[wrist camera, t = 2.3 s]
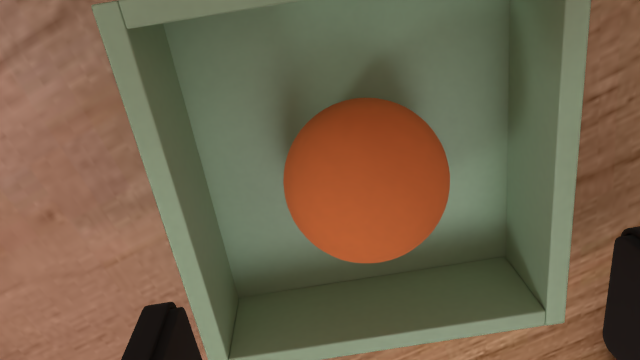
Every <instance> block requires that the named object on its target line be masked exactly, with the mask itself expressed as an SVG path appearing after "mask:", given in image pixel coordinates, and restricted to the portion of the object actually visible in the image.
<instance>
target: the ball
mask: <svg viewBox="0 0 640 360" xmlns="http://www.w3.org/2000/svg"><path fill="white" fill-rule="evenodd" d="M283 184H284V193H285V199H286V203H287V206H288V209H289V211H290V213H291V216H292V218H293V220H294V222H295V223H296V225H297V227H298V228H299V230H300V231H301V232H302V233H303V234H304V235H305V237H306V238H307V239H308V240H309V241H310V242H311V243H312V244H314V245H315V246H316V247H318V248H319V249H321V250H322V251H324V252H325V253H327V254H329V255H331V256H333V257H336V258H338V259H341V260H344V261H349V262H354V263H380V262H385V261H389V260H392V259H395V258H398V257H400V256H402V255H405V254H406V253H408V252H410V251H411V250H413V249H414V248H416V247H417V246H418V245H420V244H421V243H422V242H423V241H424V240H425V239H426V238H427V237H428V236H429V235H430V234H431V233H432V232H433V230H434V229H435V227H436V226H437V224H438V223H439V221H440V219H441V217H442V215H443V213H444V210H445V208H446V204H447V201H448V196H449V190H450V171H449V165H448V161H447V157H446V153H445V151H444V148H443V146H442V144H441V142H440V140H439V139H438V137H437V136H436V134H435V132H434V131H433V130H432V128H431V127H430V126H429V125H428V124H427V123H426V122H425V121H424V120H423V119H422V118H421V117H419V116H418V115H417V114H416V113H414V112H413V111H411V110H410V109H408V108H406V107H404V106H402V105H400V104H398V103H394V102H391V101H388V100H384V99H378V98H354V99H349V100H345V101H342V102H339V103H336V104H333V105H331V106H329V107H327V108H326V109H324V110H322V111H321V112H319V113H318V114H316V115H315V116H314V117H313V118H312V119H310V120H309V121H308V122H307V123H306V124H305V126H304V127H303V128H302V129H301V130H300V132H299V133H298V135H297V136H296V138H295V139H294V141H293V143H292V145H291V147H290V149H289V152H288V155H287V159H286V162H285V168H284V180H283Z"/></svg>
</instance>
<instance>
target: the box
mask: <svg viewBox="0 0 640 360" xmlns="http://www.w3.org/2000/svg"><path fill="white" fill-rule="evenodd" d="M91 7H92V10H93V13H94V16H95V19H96V22H97V25H98V28H99V32H100V35H101V38H102V41H103V44H104V47H105V50H106V53H107V56H108V59H109V62H110V65H111V68H112V71H113V74H114V77H115V80H116V83H117V86H118V89H119V92H120V95H121V98H122V101H123V104H124V107H125V110H126V113H127V116H128V119H129V122H130V125H131V128H132V131H133V134H134V137H135V140H136V143H137V146H138V149H139V152H140V155H141V158H142V161H143V164H144V167H145V170H146V173H147V176H148V179H149V182H150V185H151V188H152V191H153V194H154V197H155V200H156V203H157V206H158V209H159V212H160V215H161V219H162V222H163V225H164V228H165V231H166V234H167V237H168V240H169V243H170V246H171V249H172V252H173V255H174V258H175V261H176V264H177V267H178V270H179V273H180V276H181V279H182V282H183V285H184V288H185V291H186V294H187V297H188V300H189V303H190V306H191V309H192V312H193V315H194V318H195V321H196V324H197V327H198V330H199V333H200V336H201V339H202V342H203V345H204V348H205V351H206V354H207V357H208V360H321V359H328V358H334V357H341V356H347V355H354V354H361V353H367V352H374V351H380V350H387V349H393V348H400V347H407V346H413V345H420V344H426V343H433V342H439V341H446V340H453V339H459V338H466V337H472V336H479V335H485V334H492V333H499V332H505V331H512V330H518V329H525V328H531V327H538V326H544V325H553V324H560V323H564V321H565V309H566V297H567V285H568V273H569V261H570V249H571V237H572V225H573V212H574V200H575V188H576V176H577V164H578V152H579V140H580V128H581V116H582V104H583V92H584V80H585V68H586V56H587V44H588V32H589V20H590V8H591V0H118V1H112V2H106V3H100V4H94V5H92V6H91ZM354 98H378V99H384V100H388V101H391V102H394V103H398V104H400V105H402V106H404V107H406V108H408V109H410V110H411V111H413V112H414V113H416V114H417V115H418V116H419V117H421V118H422V119H423V120H424V121H425V122H426V123H427V124H428V125H429V126H430V127H431V128H432V130H433V131H434V132H435V134H436V136H437V137H438V139H439V140H440V142H441V144H442V146H443V148H444V151H445V153H446V157H447V161H448V165H449V171H450V190H449V196H448V201H447V204H446V208H445V210H444V213H443V215H442V217H441V219H440V221H439V223H438V224H437V226H436V227H435V229H434V230H433V232H432V233H431V234H430V235H429V236H428V237H427V238H426V239H425V240H424V241H423V242H422V243H421V244H420V245H418V246H417V247H416V248H414V249H413V250H411V251H410V252H408V253H406V254H405V255H402V256H400V257H398V258H395V259H392V260H389V261H385V262H380V263H354V262H349V261H344V260H341V259H338V258H336V257H333V256H331V255H329V254H327V253H325V252H324V251H322V250H321V249H319V248H318V247H316V246H315V245H314V244H312V243H311V242H310V241H309V240H308V239H307V238H306V237H305V235H304V234H303V233H302V232H301V231H300V230H299V228H298V227H297V225H296V223H295V222H294V220H293V218H292V216H291V213H290V211H289V209H288V206H287V203H286V199H285V193H284V184H283V180H284V168H285V162H286V159H287V155H288V152H289V149H290V147H291V145H292V143H293V141H294V139H295V138H296V136H297V135H298V133H299V132H300V130H301V129H302V128H303V127H304V126H305V124H306V123H307V122H308V121H309V120H310V119H312V118H313V117H314V116H315V115H316V114H318V113H319V112H321V111H322V110H324V109H326V108H327V107H329V106H331V105H333V104H336V103H339V102H342V101H345V100H349V99H354Z"/></svg>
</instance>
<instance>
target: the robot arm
mask: <svg viewBox="0 0 640 360" xmlns="http://www.w3.org/2000/svg"><path fill="white" fill-rule="evenodd" d="M603 339H604V342H605V344H606V346H607V348H608V350H609V351H610V352H611V353H612V355H613V356H614V357H615V358H616V359H617V360H640V226H639V227H633V228H627V229H625V230H624V231H623V232H622V234H621V237H618V238H617V239H616V240H615V243H614V251H613V258H612V266H611V273H610V281H609V288H608V296H607V303H606V311H605V318H604V326H603ZM121 360H202V358H201V355H200V352H199V349H198V346H197V343H196V341H195V338H194V335H193V332H192V329H191V326H190V323H189V320H188V317H187V314H186V312H185V309H184V308H183V307H179V308H177V307H176V305H175V304H174V303H173V302H167V303H161V304H154V305H148V306H145V307H144V309H143V310H142V312H141V315H140V317H139V319H138V322H137V324H136V326H135V329H134V331H133V333H132V336H131V338H130V340H129V343H128V345H127V347H126V350H125V352H124V354H123V357H122V359H121Z"/></svg>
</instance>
